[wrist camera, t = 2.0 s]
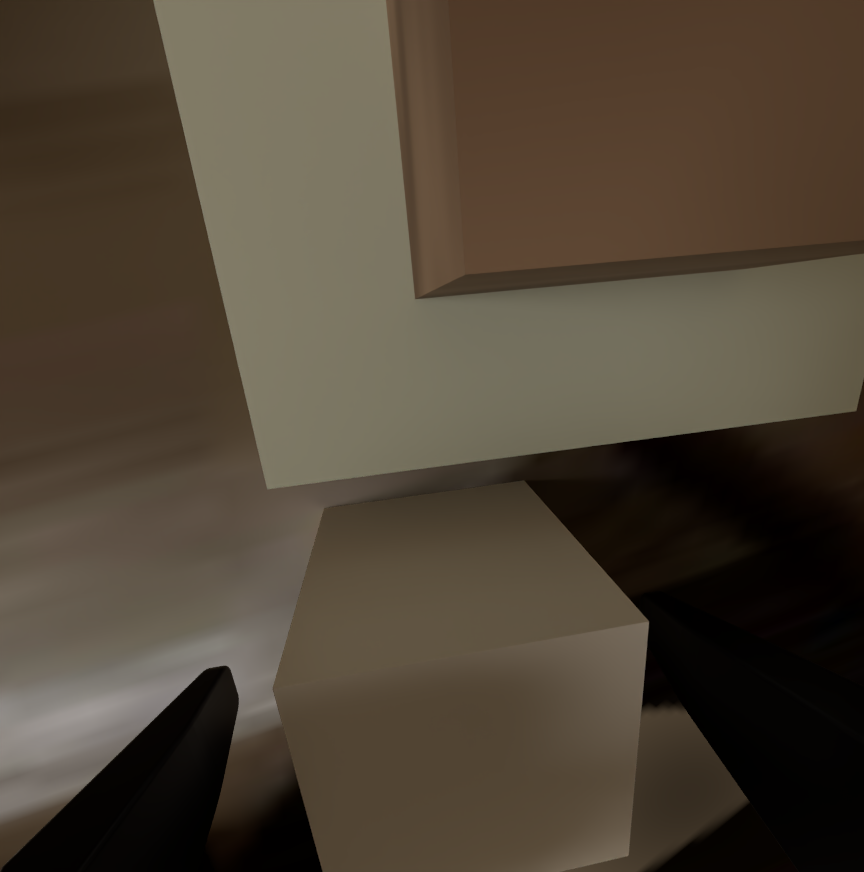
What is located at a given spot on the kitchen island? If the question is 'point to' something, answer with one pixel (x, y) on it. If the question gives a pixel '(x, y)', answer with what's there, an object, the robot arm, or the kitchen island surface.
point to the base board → (450, 315)
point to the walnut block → (625, 137)
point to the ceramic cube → (462, 689)
